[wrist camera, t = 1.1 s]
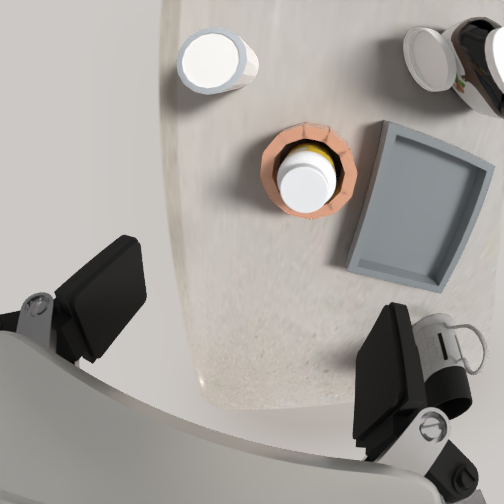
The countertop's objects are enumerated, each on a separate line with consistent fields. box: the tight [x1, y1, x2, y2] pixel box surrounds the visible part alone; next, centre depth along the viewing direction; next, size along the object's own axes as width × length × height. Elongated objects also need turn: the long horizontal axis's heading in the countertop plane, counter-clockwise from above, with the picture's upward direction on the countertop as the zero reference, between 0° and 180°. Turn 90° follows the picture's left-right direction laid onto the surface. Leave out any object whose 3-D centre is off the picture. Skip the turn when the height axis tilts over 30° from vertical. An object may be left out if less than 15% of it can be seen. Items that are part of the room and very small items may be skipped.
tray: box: [346, 120, 495, 293], centre depth 28 cm, size 18×14×3 cm
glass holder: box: [412, 314, 488, 420], centre depth 30 cm, size 9×14×15 cm, turn 174°
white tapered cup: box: [177, 27, 259, 95], centre depth 23 cm, size 7×7×7 cm
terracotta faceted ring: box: [260, 122, 357, 220], centre depth 28 cm, size 9×9×4 cm
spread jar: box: [403, 17, 504, 119], centre depth 14 cm, size 12×11×12 cm
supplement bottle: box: [277, 142, 336, 213], centre depth 26 cm, size 5×5×10 cm
